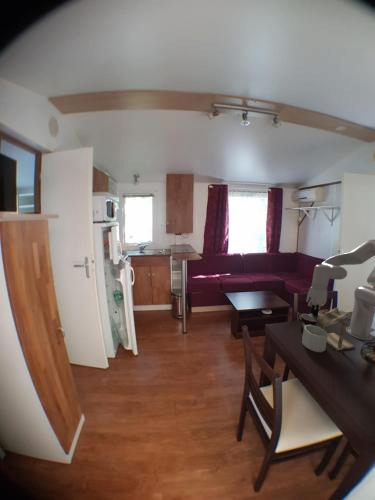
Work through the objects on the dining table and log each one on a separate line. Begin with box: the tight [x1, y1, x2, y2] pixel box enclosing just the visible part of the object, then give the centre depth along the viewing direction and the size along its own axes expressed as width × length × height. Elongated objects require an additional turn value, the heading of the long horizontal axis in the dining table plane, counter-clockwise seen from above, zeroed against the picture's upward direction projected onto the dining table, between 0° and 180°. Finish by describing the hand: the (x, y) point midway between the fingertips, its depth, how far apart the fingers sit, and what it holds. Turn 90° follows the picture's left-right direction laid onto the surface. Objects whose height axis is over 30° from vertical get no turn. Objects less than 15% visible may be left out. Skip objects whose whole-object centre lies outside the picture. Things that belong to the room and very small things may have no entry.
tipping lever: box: [307, 307, 352, 328], centre depth 109 cm, size 17×14×6 cm
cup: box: [301, 325, 328, 353], centre depth 106 cm, size 11×11×10 cm
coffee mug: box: [297, 313, 318, 333], centre depth 120 cm, size 12×9×10 cm
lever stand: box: [321, 310, 355, 351], centre depth 108 cm, size 12×13×17 cm
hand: (314, 314), depth 112 cm, fingers closed
